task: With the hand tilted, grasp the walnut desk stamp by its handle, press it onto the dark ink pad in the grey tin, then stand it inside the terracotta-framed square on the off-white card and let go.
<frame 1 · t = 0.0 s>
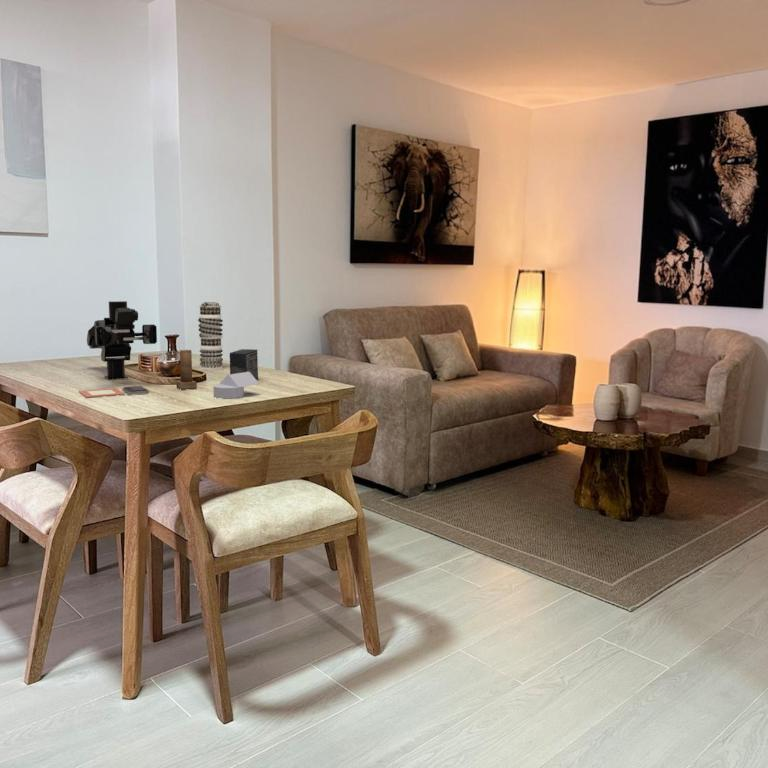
hand: (133, 337, 227), 17 cm above the table, tool horizontal, fingers open, 9 cm apart
small box: (244, 381, 251), on the table
decorative candle: (211, 368, 278), on the table
ink pad: (135, 392, 225), on the table
stamp: (186, 388, 234), on the table
wedge on round base: (233, 396, 224), on the table
print card: (101, 393, 222), on the table
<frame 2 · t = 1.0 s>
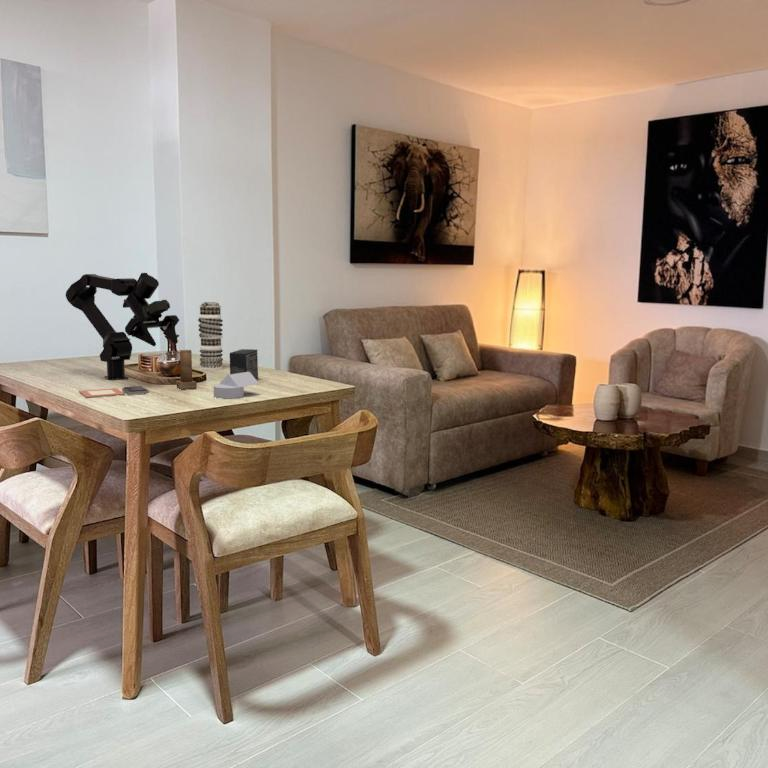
hand: (166, 344, 236), 14 cm above the table, tool tilted 45°, fingers open, 9 cm apart
nothing on the table moved.
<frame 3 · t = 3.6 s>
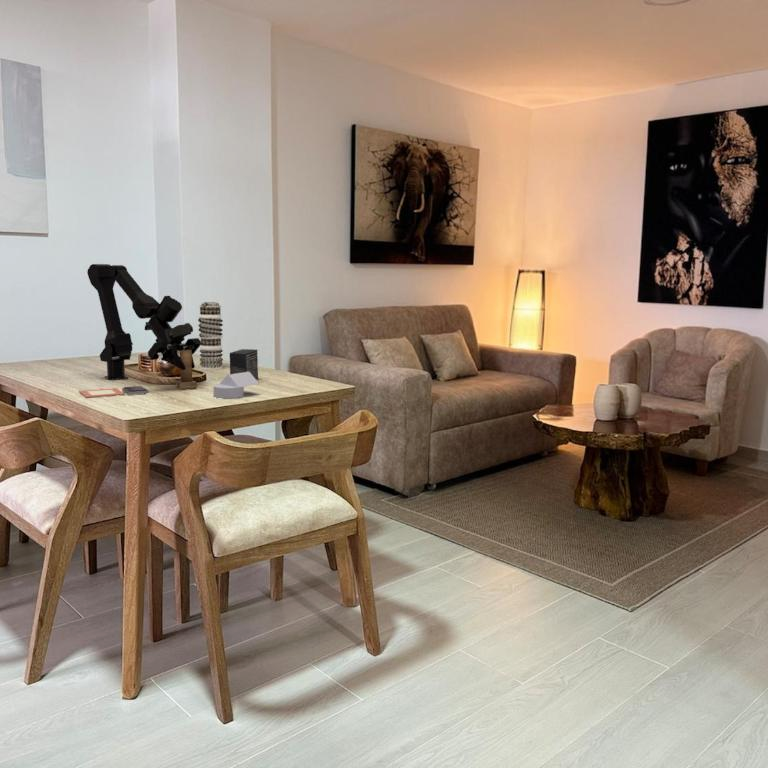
hand: (189, 368, 232), 7 cm above the table, tool tilted 45°, fingers closed on stamp, 4 cm apart
stamp: (186, 388, 234), on the table, touching gripper
everything else where it was.
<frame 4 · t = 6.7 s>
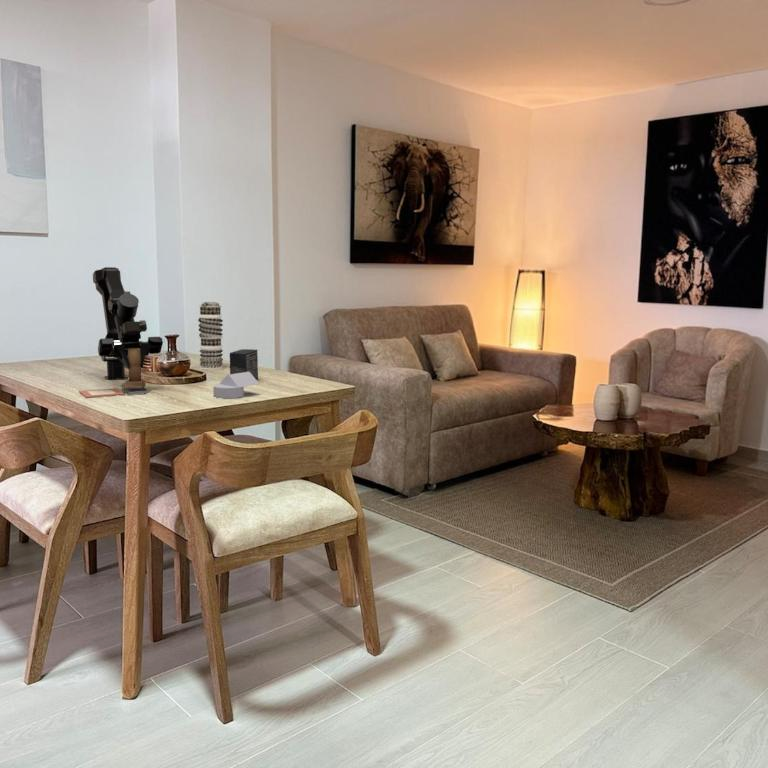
hand: (135, 367, 223), 8 cm above the table, tool tilted 45°, fingers closed on stamp, 4 cm apart
stamp: (135, 388, 225), point 1 cm above the table, touching gripper
everything else where it was.
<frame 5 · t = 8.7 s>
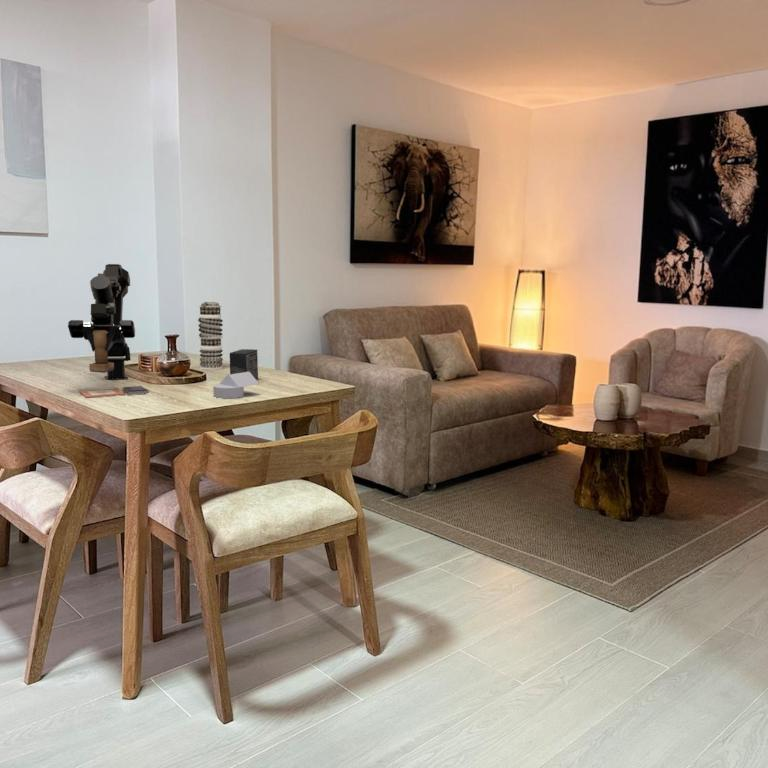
hand: (99, 350, 219), 13 cm above the table, tool tilted 45°, fingers closed on stamp, 4 cm apart
stamp: (101, 370, 222), point 7 cm above the table, touching gripper
everything else where it was.
when the fingers open (7 cm above the table, at t = 10.1 s): stamp stays where it is, resting on print card.
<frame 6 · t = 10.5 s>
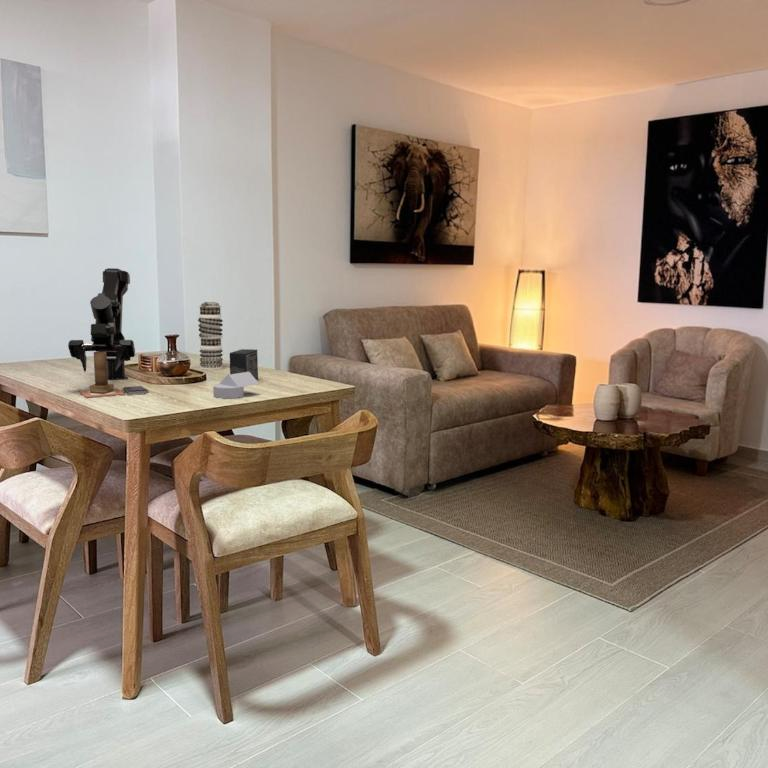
hand: (99, 370, 220), 7 cm above the table, tool tilted 45°, fingers open, 8 cm apart
stamp: (101, 392, 223), resting on print card
everything else where it was.
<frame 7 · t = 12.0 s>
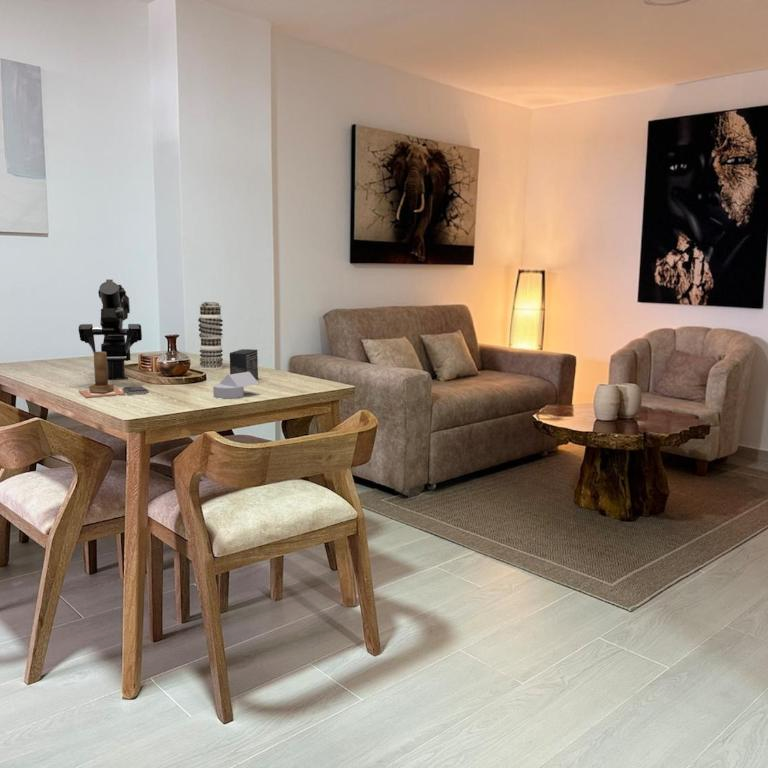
hand: (110, 353, 229), 11 cm above the table, tool tilted 45°, fingers open, 9 cm apart
nothing on the table moved.
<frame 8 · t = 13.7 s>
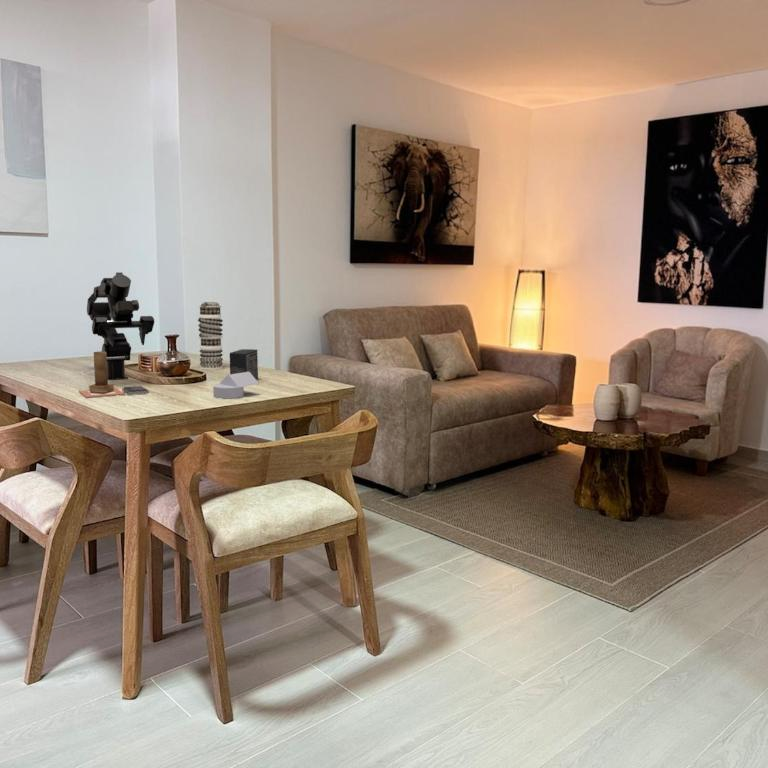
hand: (128, 345, 232), 14 cm above the table, tool tilted 45°, fingers open, 9 cm apart
nothing on the table moved.
at the end: stamp 0.2 cm off-centre on the print card, point 0.4 cm above the print card's base; stamp tilted 0°; the gripper is holding nothing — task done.
